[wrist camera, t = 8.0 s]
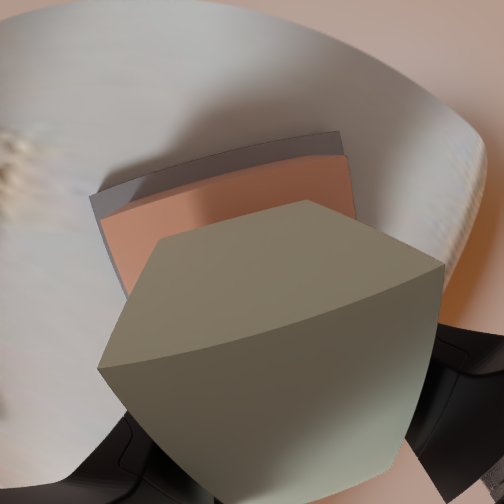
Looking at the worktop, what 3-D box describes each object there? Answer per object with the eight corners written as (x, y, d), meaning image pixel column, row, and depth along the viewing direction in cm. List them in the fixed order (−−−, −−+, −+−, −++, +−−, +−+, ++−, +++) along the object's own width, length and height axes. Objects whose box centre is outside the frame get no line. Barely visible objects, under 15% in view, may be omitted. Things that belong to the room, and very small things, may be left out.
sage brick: (329, 365, 11) (389, 469, 5) (223, 396, 10) (242, 517, 5) (307, 199, 8) (445, 263, 3) (159, 239, 8) (97, 368, 3)
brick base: (353, 304, 17) (393, 347, 13) (163, 358, 16) (156, 416, 12) (331, 132, 14) (383, 124, 9) (95, 193, 13) (49, 211, 8)
